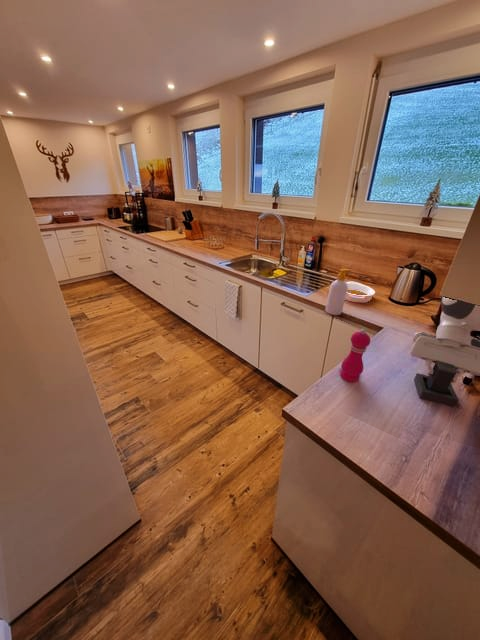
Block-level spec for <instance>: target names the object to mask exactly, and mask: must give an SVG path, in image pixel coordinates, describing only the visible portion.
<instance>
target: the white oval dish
mask: <svg viewBox="0 0 480 640" xmlns="http://www.w3.org/2000/svg"><path fill="white" fill-rule="evenodd" d="M346 284H347V286H348V290H356V291H360V292H363V293H365V294H367V295H356V294H351V293H348V292H347V293H346V297H345V301H348V302H353V303H369V302H370V300H372V299H373V296H374V295H375V294H376V291H375V289H374V288H373V287H371V286H368V285H365V284H362V283H360V282H359V281H354V282H353V281H350V280H349V281H346ZM368 301H369V302H368Z"/></svg>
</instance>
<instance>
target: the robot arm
mask: <svg viewBox="0 0 480 640" xmlns="http://www.w3.org/2000/svg"><path fill="white" fill-rule="evenodd" d="M440 306H441V314H440V317H439V319H440V320H439V325H437V329H436V332H435V334H432V333H427V332H424V331H420V332H416V333H414V335H413V338H412V340H413V342H414V343H413V344H412V347H411V348H410V351H409V354H410V356H411V357H412V358H416V359H420V360H423V361H425V366H426V369H427V371H426V375H428V376H429V375H433V374H434V369H433V367H432V364H435V363H436V361H441V362H444V363H448V364H451V365H454V366H455V368H456V370H457V374H456V375H455V377H454V378H453V380H452V382H451V383H457V381H458V378H459V377H460V376H461V375H463V374H464V373H467V374H470V375H473V376H476V377H479V376H480V340H479V339H478V338H475V337H474V336H472V335H471V332H472V331H476V332H480V306H478V305H473V304H469V303H465V302H461V301H457V300H452V299H449V298H445V297H443V296H442V297H441V300H440Z"/></svg>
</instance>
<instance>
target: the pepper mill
mask: <svg viewBox="0 0 480 640" xmlns="http://www.w3.org/2000/svg"><path fill="white" fill-rule="evenodd" d="M350 342H351V343H350V345H349V348H350V352H349V354H348V355H347V356H346V357H345V358H344V359H343V360H342V362H341V369H340V377H341V378H342V379H343V380H344V381H346V382H349V383H357V382H358V381H359V379H360V375H362V373H363V372H364V362H363V361H364V360H363V354H364V353H366V350H367V348H368V347H369V346H370V344H371V337H370V335H369V334H368V333H367V330H366V329H365V328H361V329H360V330H359V331H356V332H354V333H352V335H351V336H350Z"/></svg>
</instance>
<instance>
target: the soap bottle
mask: <svg viewBox="0 0 480 640" xmlns="http://www.w3.org/2000/svg"><path fill="white" fill-rule="evenodd" d="M345 272H354V269H350V268H348V269H346V268H340V272H339V273H338V274H337V277H336V279H335V280H333V282H331V284H330V286H329V290H328V295H327V299H326V304H325V308H324V310H325V312H326V314H329V315H332V316H340V315H342V313H343V309H344V304H345V301H346V300H345V297H346V293H347V290H348V286H347V284H346V283H347V281H345V279H346V273H345Z"/></svg>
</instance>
